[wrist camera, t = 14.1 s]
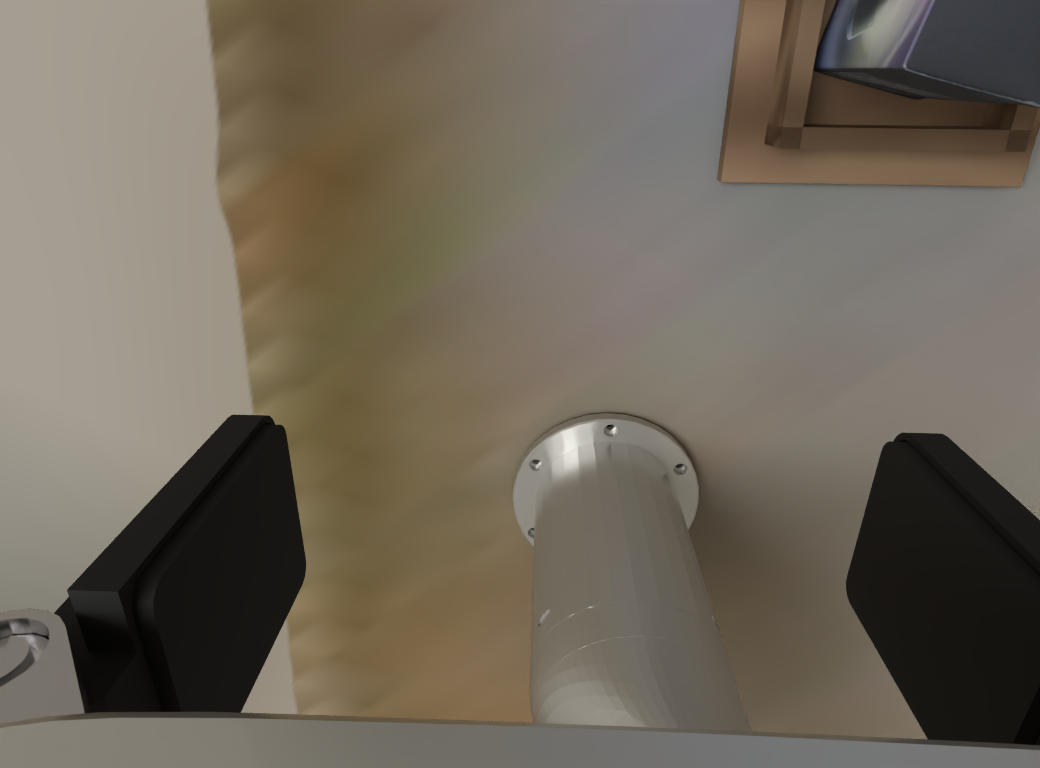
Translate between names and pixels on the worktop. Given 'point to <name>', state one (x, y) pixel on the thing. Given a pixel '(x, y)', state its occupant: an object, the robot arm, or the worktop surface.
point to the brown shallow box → (852, 117)
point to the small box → (936, 48)
